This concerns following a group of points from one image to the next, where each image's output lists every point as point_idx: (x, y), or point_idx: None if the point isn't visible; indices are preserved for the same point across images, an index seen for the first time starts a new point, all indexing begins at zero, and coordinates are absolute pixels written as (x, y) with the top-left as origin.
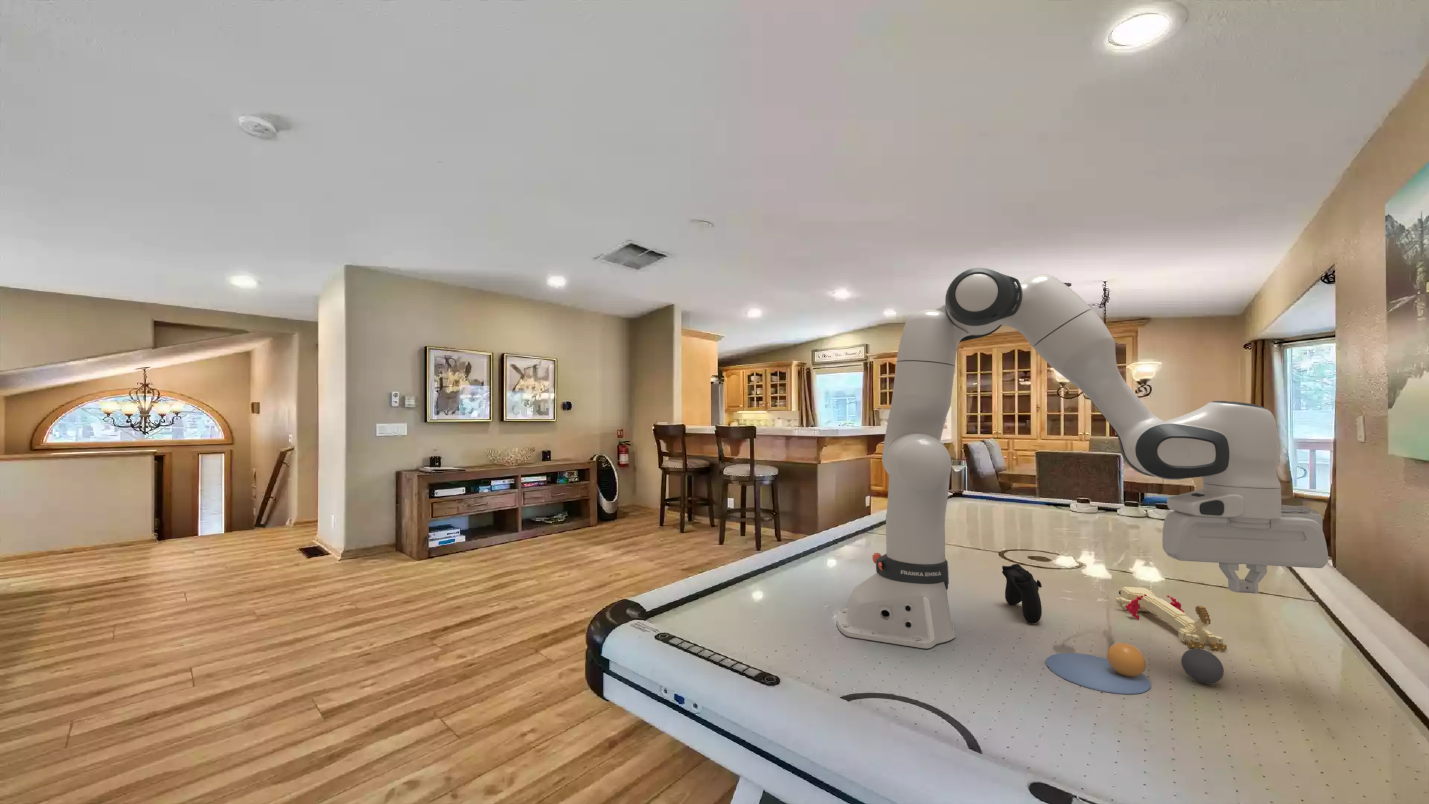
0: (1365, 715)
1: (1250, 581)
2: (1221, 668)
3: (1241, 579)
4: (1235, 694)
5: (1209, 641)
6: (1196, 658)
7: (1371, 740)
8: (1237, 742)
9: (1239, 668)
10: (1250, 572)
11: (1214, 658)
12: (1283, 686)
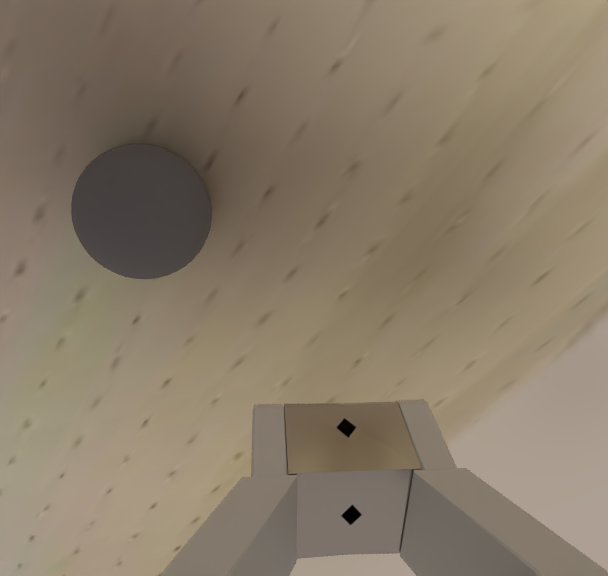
0: (495, 318)
1: (401, 531)
2: (185, 265)
3: (370, 483)
4: (216, 265)
5: None
6: (97, 260)
7: None
8: (74, 496)
9: (390, 16)
10: (488, 553)
11: (163, 266)
12: (427, 169)
